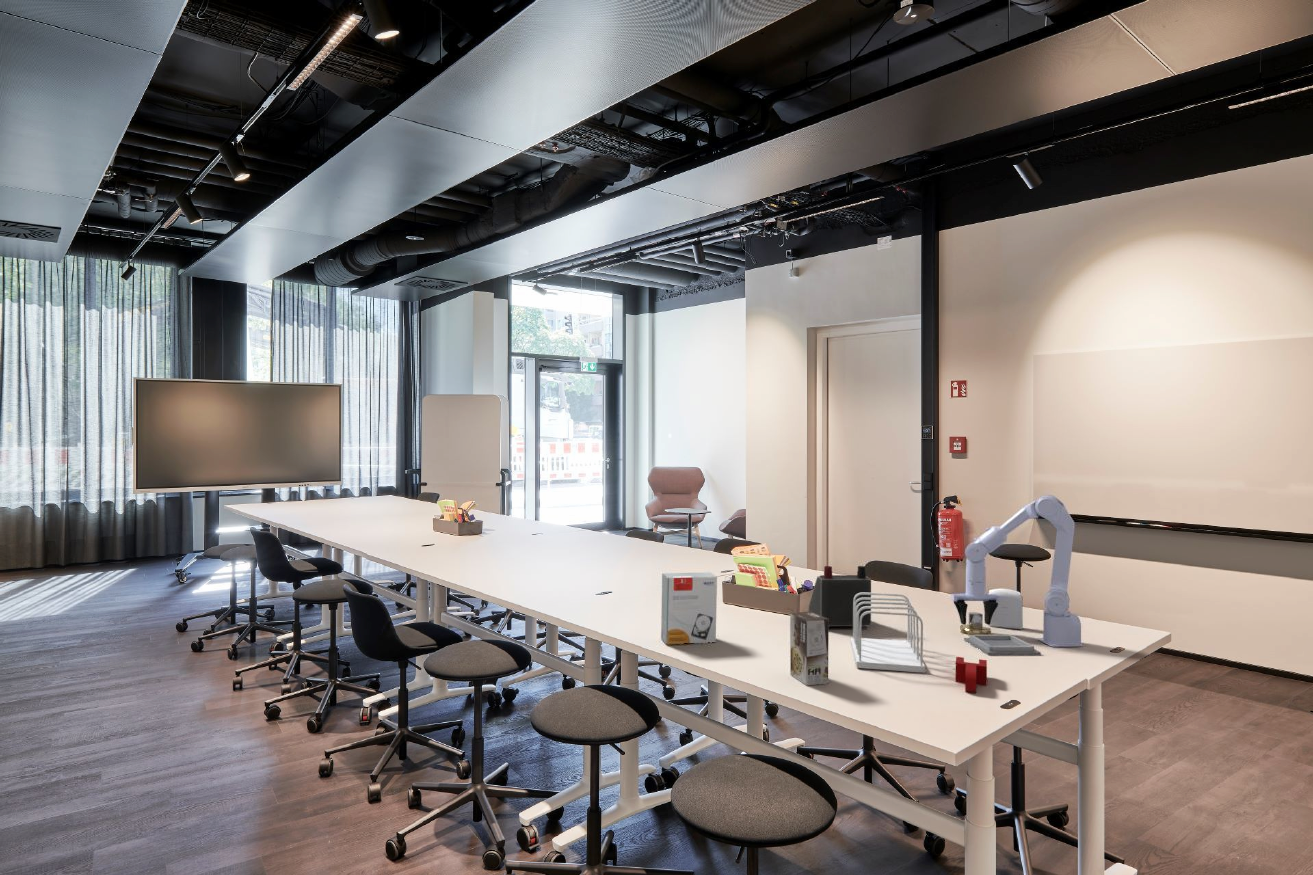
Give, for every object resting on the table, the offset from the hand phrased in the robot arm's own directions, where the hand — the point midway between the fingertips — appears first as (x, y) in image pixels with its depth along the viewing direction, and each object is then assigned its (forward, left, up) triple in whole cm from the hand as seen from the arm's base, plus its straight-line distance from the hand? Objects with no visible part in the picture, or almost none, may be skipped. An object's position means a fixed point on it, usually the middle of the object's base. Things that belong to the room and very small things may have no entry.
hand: (975, 623), depth 228 cm
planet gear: (0, 0, -3) cm, 3 cm away
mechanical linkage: (+23, +47, -3) cm, 53 cm away
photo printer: (-13, -7, -3) cm, 15 cm away
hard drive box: (+91, +8, -3) cm, 91 cm away
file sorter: (+37, +25, -3) cm, 45 cm away
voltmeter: (+40, -12, -3) cm, 42 cm away
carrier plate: (0, +16, -3) cm, 16 cm away
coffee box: (+63, +43, -3) cm, 76 cm away
